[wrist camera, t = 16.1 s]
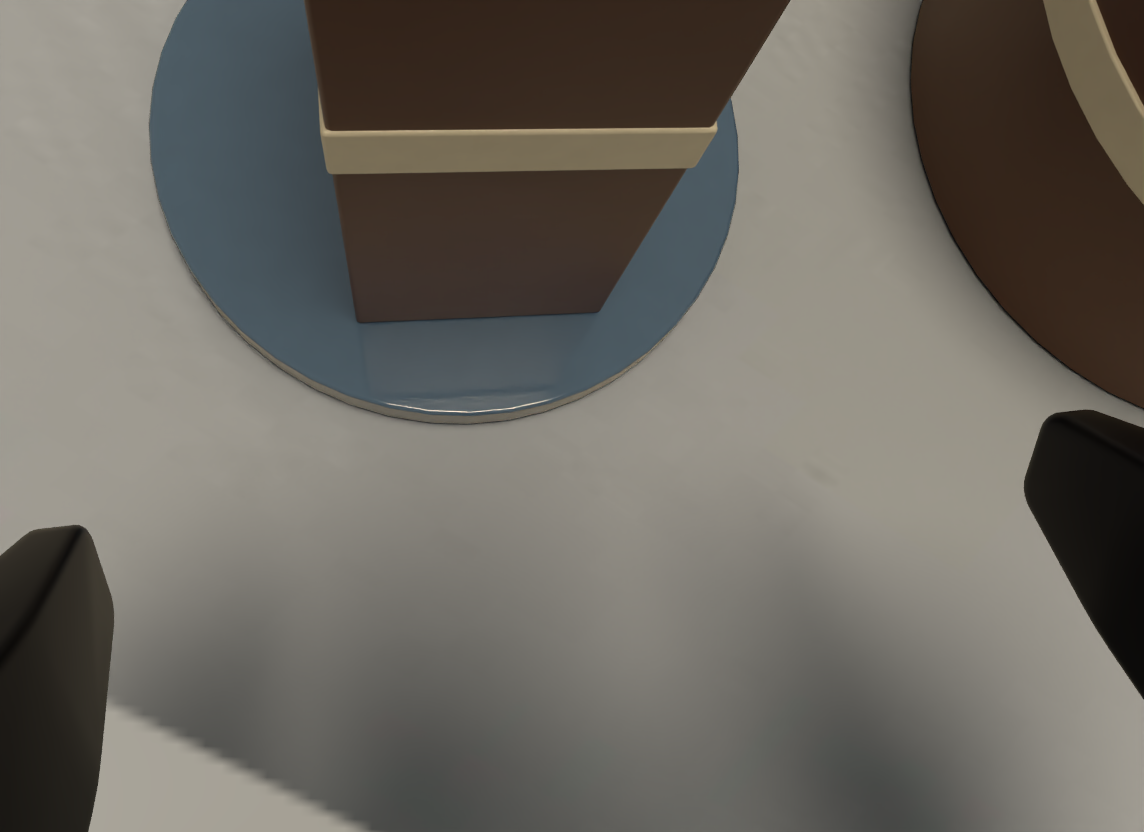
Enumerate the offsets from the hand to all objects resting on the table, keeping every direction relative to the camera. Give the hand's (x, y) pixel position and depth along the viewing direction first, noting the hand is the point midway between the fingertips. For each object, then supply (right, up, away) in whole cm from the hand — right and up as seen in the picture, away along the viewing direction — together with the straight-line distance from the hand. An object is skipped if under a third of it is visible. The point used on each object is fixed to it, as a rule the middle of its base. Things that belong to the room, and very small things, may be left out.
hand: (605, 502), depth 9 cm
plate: (-3, +6, +10) cm, 12 cm away
